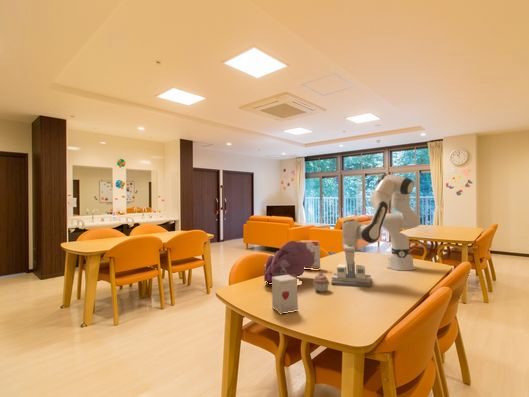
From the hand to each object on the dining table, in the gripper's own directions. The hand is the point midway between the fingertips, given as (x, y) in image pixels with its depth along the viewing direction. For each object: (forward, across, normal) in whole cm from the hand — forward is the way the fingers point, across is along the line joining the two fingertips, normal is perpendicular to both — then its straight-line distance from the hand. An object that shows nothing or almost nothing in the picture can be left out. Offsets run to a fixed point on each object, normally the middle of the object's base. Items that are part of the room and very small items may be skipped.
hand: (351, 269), depth 173 cm
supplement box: (+8, +54, -27) cm, 61 cm away
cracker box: (+8, -26, -30) cm, 40 cm away
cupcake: (+8, +22, -15) cm, 28 cm away
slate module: (+5, 0, 0) cm, 5 cm away
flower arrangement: (+8, +11, -38) cm, 40 cm away
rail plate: (+8, 0, 0) cm, 8 cm away
